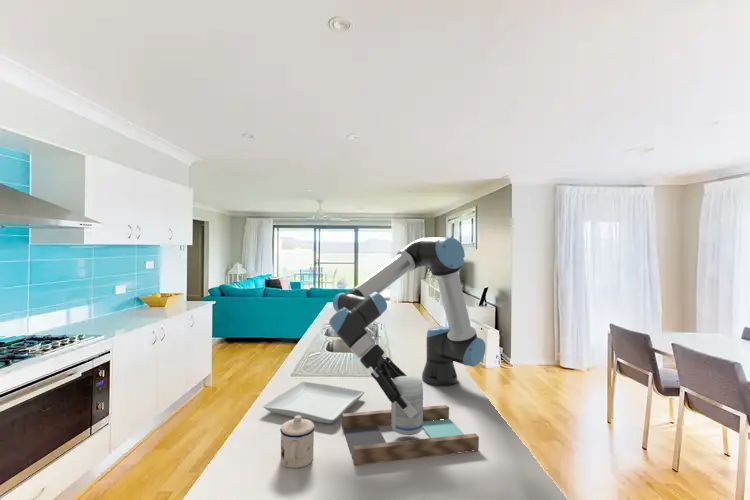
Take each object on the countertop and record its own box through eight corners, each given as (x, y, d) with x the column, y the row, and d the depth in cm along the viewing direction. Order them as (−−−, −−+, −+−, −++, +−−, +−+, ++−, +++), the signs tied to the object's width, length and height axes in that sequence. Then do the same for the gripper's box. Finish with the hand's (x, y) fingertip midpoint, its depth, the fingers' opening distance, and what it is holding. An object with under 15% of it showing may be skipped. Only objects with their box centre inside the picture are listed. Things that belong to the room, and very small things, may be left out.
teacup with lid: (283, 450, 108) (284, 409, 108) (316, 450, 108) (316, 409, 108) (273, 476, 96) (274, 429, 96) (310, 476, 96) (310, 429, 96)
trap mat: (377, 426, 123) (377, 425, 123) (391, 455, 107) (391, 453, 107) (343, 430, 121) (343, 428, 121) (352, 459, 104) (352, 457, 104)
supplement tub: (429, 431, 115) (429, 382, 115) (404, 439, 110) (404, 388, 110) (409, 418, 123) (409, 373, 123) (384, 426, 118) (385, 378, 118)
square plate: (333, 431, 121) (333, 419, 121) (260, 416, 130) (261, 405, 130) (365, 399, 146) (365, 389, 146) (302, 389, 156) (302, 379, 156)
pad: (449, 420, 129) (449, 418, 129) (473, 445, 112) (473, 444, 112) (418, 423, 127) (418, 421, 127) (438, 449, 110) (438, 448, 110)
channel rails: (446, 416, 132) (446, 405, 132) (478, 450, 110) (478, 436, 110) (342, 426, 124) (342, 413, 123) (354, 464, 102) (354, 449, 102)
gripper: (370, 349, 132) (415, 401, 127) (347, 369, 110) (400, 432, 106) (385, 335, 130) (431, 387, 126) (364, 352, 109) (419, 416, 104)
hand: (417, 408), depth 116 cm, fingers closed on supplement tub, 9 cm apart
